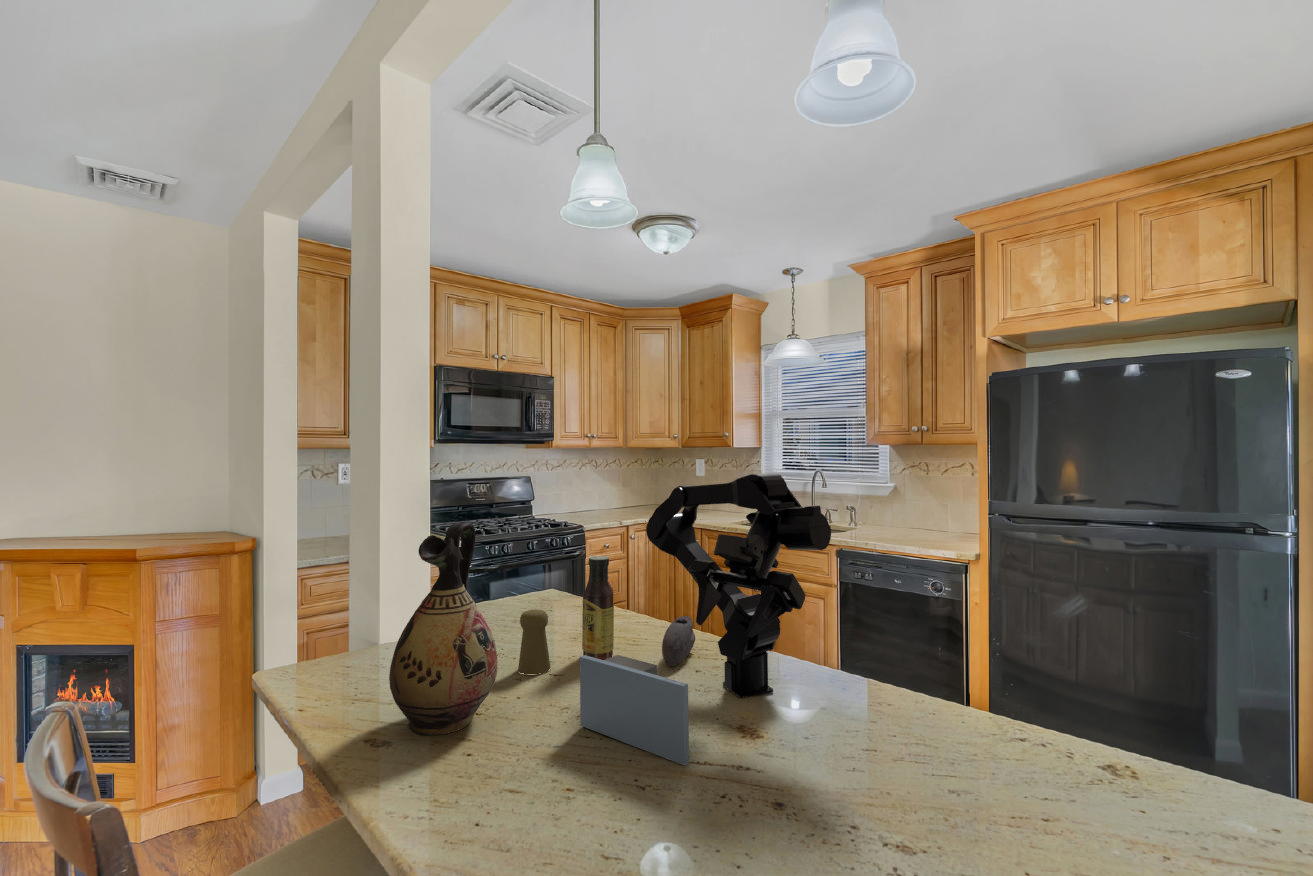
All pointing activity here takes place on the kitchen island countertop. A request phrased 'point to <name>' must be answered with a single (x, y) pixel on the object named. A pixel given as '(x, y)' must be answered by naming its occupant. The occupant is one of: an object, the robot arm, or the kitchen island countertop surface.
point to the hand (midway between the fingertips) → (722, 629)
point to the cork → (534, 643)
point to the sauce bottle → (598, 611)
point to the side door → (635, 708)
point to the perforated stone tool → (678, 641)
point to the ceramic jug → (444, 644)
